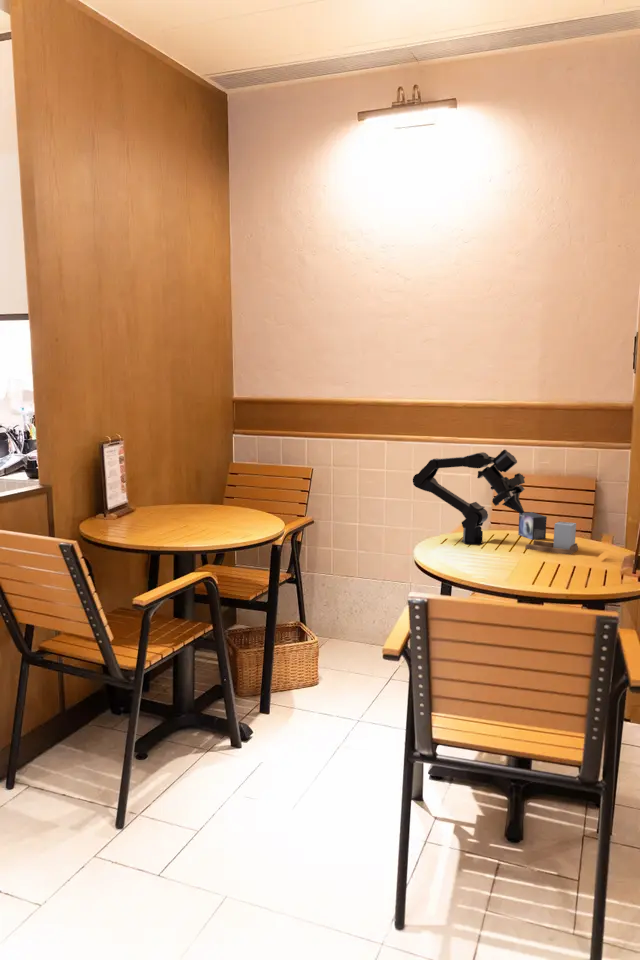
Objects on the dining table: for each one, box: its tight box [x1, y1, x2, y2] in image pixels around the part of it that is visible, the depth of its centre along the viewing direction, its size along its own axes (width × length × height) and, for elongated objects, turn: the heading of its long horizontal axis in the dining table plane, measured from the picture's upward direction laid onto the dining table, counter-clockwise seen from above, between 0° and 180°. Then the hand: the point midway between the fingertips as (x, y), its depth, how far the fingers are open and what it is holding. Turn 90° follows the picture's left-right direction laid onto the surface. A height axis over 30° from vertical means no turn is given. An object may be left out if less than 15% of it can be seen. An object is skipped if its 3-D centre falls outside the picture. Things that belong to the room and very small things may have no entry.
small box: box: [518, 511, 548, 541], centre depth 304 cm, size 11×6×10 cm, turn 17°
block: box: [553, 521, 577, 550], centre depth 278 cm, size 6×6×10 cm
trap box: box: [524, 540, 579, 556], centre depth 281 cm, size 16×10×4 cm, turn 57°
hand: (523, 513), depth 286 cm, fingers closed
